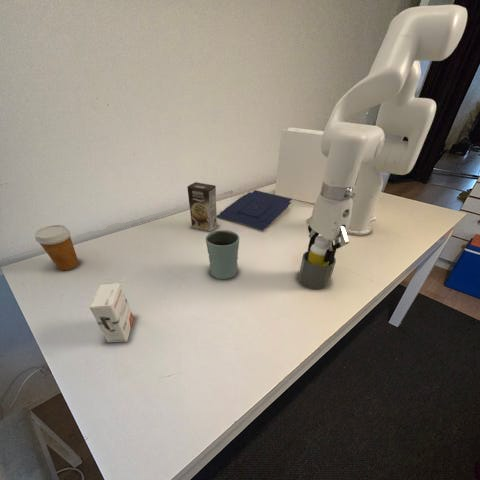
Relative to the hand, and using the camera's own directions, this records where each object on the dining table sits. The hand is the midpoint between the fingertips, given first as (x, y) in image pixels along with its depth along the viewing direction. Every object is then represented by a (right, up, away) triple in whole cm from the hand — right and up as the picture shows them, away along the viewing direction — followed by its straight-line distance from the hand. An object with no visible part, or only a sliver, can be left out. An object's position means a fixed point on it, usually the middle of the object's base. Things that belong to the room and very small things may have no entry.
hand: (320, 254), depth 77 cm
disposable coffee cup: (-81, -1, +10) cm, 82 cm away
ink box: (-54, -22, -10) cm, 59 cm away
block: (+12, +42, +57) cm, 72 cm away
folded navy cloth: (-16, +30, +43) cm, 55 cm away
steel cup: (0, -6, +6) cm, 9 cm away
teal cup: (-29, -3, +9) cm, 31 cm away
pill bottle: (0, -4, +4) cm, 6 cm away
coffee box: (-38, +20, +32) cm, 54 cm away
